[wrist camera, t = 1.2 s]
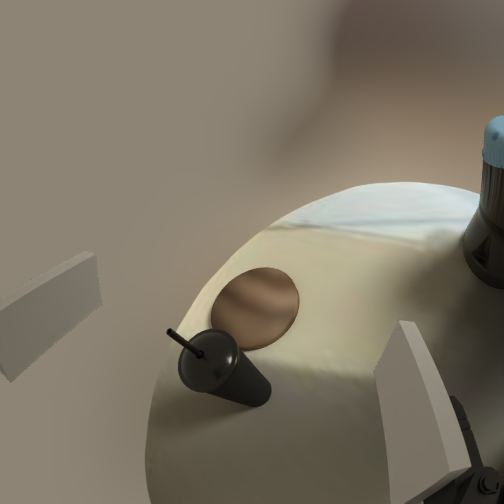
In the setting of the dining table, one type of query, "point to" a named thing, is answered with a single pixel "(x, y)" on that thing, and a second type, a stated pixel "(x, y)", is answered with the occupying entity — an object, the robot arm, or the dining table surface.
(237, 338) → the coaster board
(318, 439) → the dining table surface
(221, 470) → the dining table surface
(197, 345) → the drinking cup
